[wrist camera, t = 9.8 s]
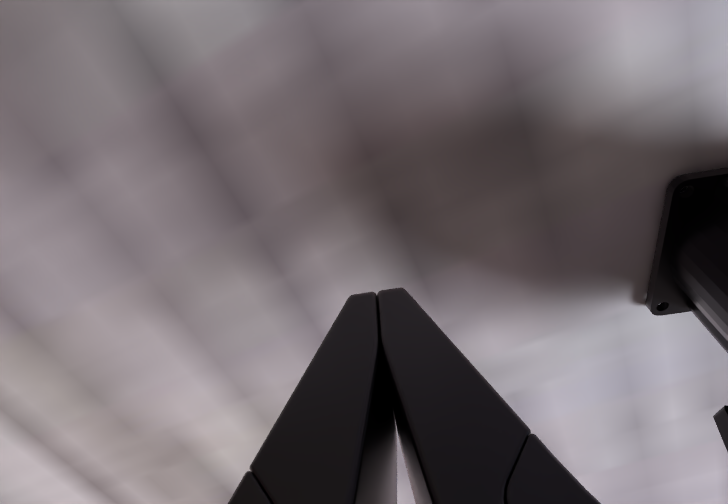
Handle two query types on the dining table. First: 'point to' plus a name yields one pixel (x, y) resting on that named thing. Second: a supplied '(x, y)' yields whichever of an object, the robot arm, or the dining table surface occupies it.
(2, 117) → the dining table surface
